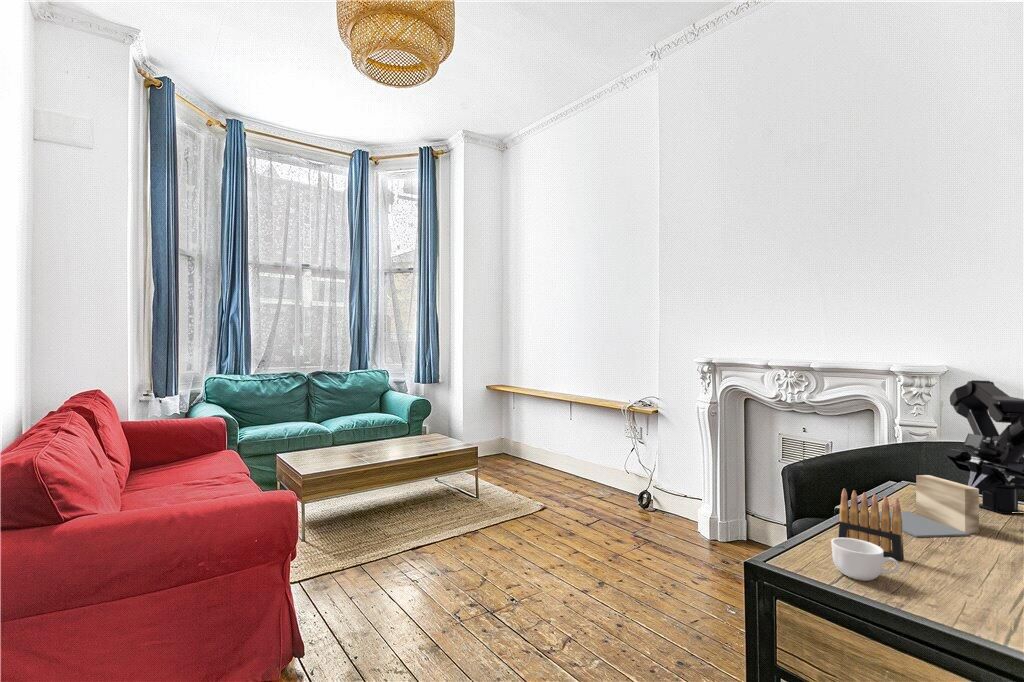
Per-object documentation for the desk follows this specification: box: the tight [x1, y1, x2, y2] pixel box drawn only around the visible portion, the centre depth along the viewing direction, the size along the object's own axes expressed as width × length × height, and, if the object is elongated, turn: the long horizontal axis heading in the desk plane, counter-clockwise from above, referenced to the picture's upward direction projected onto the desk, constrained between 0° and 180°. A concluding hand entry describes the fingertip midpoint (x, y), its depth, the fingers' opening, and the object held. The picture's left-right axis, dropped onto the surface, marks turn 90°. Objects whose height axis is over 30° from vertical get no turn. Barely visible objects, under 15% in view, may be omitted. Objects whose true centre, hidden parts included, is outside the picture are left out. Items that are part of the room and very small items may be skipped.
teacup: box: [830, 537, 900, 582], centre depth 89 cm, size 10×8×5 cm
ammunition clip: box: [837, 488, 905, 563], centre depth 100 cm, size 11×2×12 cm, turn 43°
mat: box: [869, 511, 971, 538], centre depth 116 cm, size 13×15×1 cm
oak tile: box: [915, 474, 980, 534], centre depth 117 cm, size 4×12×10 cm, turn 5°
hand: (969, 493), depth 117 cm, fingers closed
